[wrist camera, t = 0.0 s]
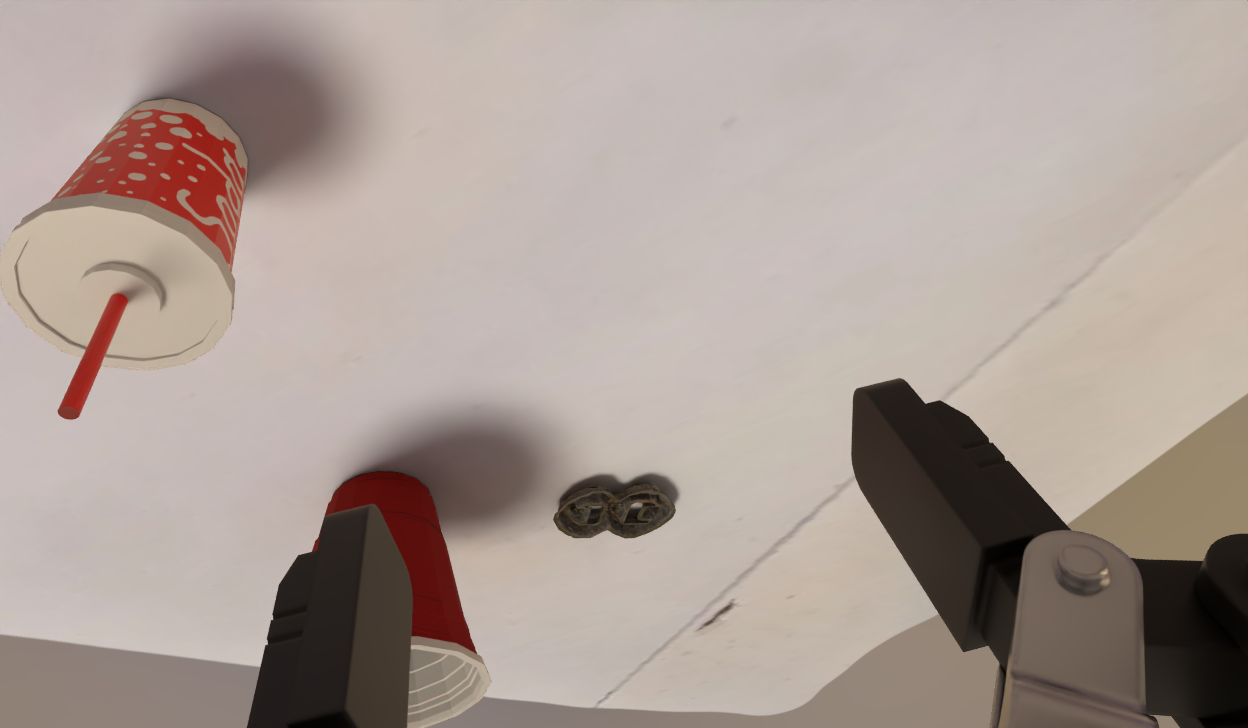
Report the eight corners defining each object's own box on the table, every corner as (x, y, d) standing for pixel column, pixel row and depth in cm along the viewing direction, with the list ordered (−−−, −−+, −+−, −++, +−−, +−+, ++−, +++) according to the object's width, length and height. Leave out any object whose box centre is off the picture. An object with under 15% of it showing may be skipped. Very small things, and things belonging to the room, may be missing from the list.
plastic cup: (295, 567, 48) (271, 769, 39) (268, 448, 41) (231, 661, 32) (474, 551, 50) (489, 737, 42) (477, 437, 43) (495, 632, 35)
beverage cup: (279, 226, 33) (222, 483, 23) (115, 223, 31) (-26, 497, 21) (256, 83, 29) (175, 317, 19) (66, 71, 27) (-136, 320, 17)
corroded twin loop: (559, 477, 47) (562, 490, 46) (681, 477, 49) (686, 490, 49) (545, 528, 50) (547, 542, 49) (660, 526, 53) (664, 539, 52)
